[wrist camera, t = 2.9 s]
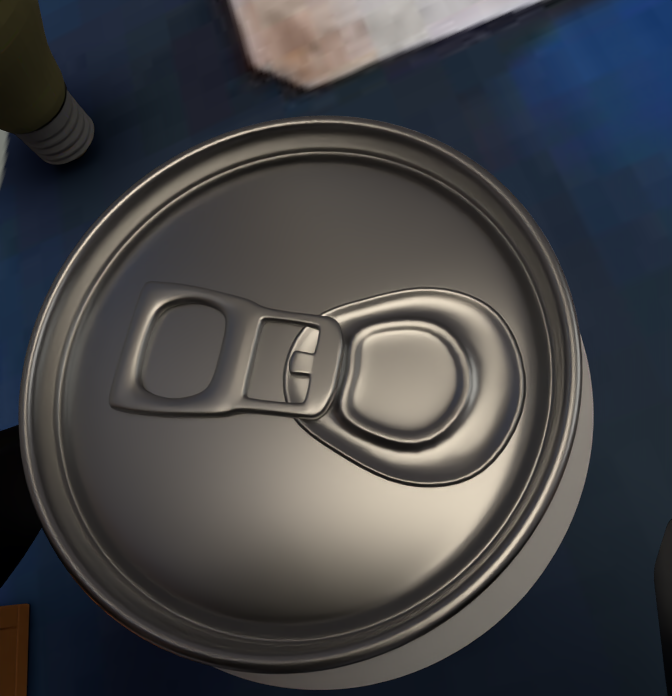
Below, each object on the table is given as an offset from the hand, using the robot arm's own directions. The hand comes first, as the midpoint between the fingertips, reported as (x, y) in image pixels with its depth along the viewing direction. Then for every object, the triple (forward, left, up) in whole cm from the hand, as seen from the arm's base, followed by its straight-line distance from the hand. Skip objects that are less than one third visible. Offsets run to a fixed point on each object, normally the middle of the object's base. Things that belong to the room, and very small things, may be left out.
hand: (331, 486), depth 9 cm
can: (+1, 0, -9) cm, 9 cm away
